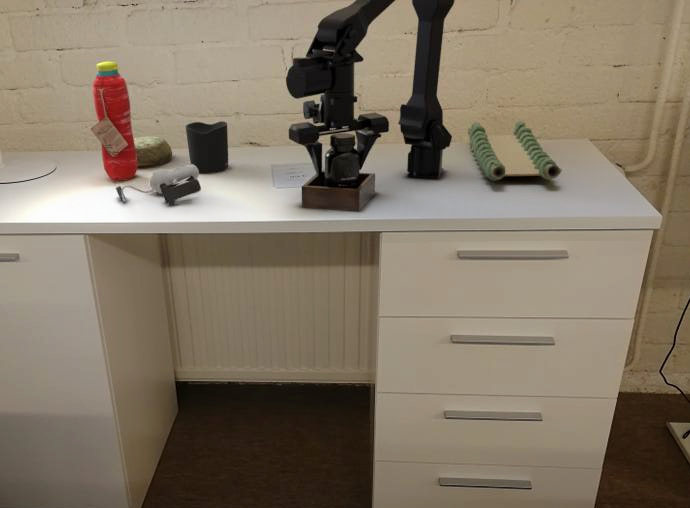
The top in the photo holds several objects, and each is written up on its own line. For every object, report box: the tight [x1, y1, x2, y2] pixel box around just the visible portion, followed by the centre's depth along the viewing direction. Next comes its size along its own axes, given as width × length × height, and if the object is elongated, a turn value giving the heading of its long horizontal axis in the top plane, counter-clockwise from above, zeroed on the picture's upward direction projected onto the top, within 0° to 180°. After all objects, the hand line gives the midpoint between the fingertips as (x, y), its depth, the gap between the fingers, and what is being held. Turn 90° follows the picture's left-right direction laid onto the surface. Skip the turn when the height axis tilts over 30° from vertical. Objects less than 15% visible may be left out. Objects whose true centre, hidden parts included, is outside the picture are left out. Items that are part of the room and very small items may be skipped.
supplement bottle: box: [324, 132, 361, 189], centre depth 152 cm, size 7×7×12 cm
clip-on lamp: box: [115, 163, 202, 206], centre depth 161 cm, size 12×6×18 cm
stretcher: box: [467, 120, 563, 182], centre depth 170 cm, size 41×14×5 cm, turn 173°
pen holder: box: [185, 120, 229, 174], centre depth 178 cm, size 9×9×10 cm
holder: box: [301, 169, 376, 212], centre depth 154 cm, size 12×12×4 cm
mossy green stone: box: [133, 136, 173, 167], centre depth 188 cm, size 14×13×5 cm
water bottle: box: [90, 61, 139, 182], centre depth 171 cm, size 12×8×25 cm, turn 164°
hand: (339, 172), depth 152 cm, fingers open, 8 cm apart
